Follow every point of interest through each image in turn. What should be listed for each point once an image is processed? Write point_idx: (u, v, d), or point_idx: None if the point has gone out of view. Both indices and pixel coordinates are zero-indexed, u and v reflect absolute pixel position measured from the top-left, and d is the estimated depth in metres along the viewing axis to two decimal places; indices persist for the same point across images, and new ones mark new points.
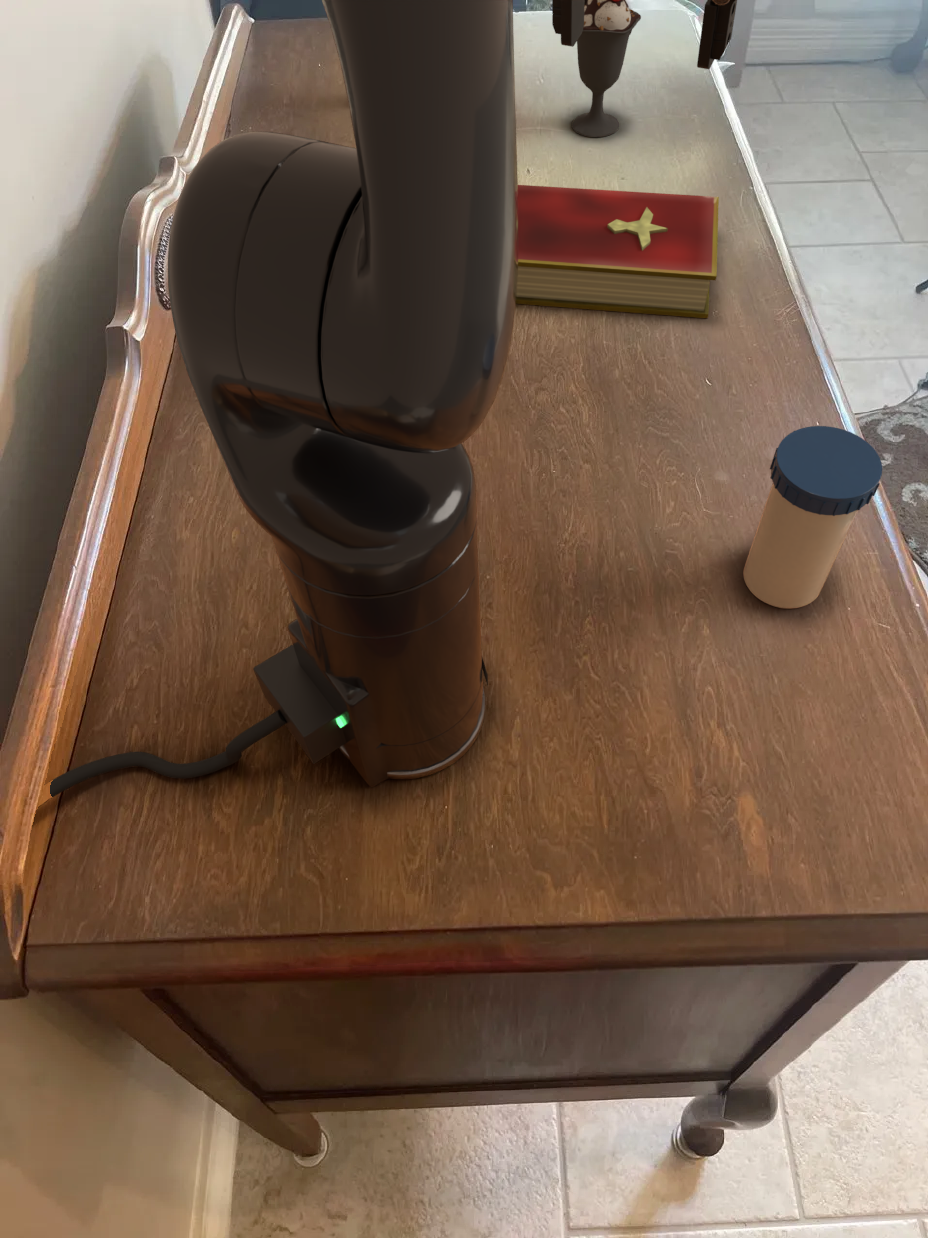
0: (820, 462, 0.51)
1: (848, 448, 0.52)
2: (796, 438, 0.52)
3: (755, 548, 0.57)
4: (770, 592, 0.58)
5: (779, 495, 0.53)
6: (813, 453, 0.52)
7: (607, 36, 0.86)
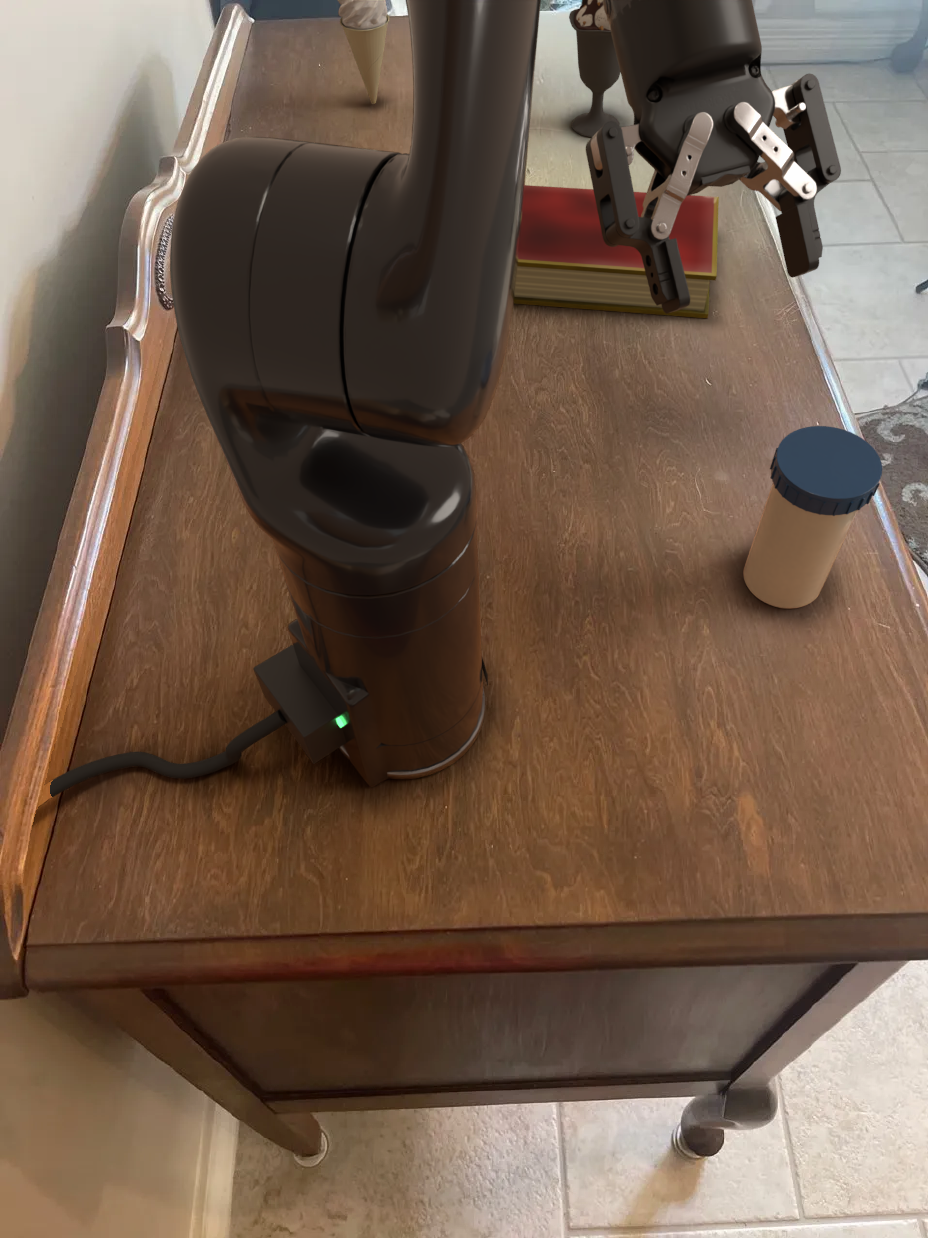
0: (820, 462, 0.51)
1: (848, 448, 0.52)
2: (796, 438, 0.52)
3: (755, 548, 0.57)
4: (770, 592, 0.58)
5: (779, 495, 0.53)
6: (813, 453, 0.52)
7: (607, 36, 0.86)
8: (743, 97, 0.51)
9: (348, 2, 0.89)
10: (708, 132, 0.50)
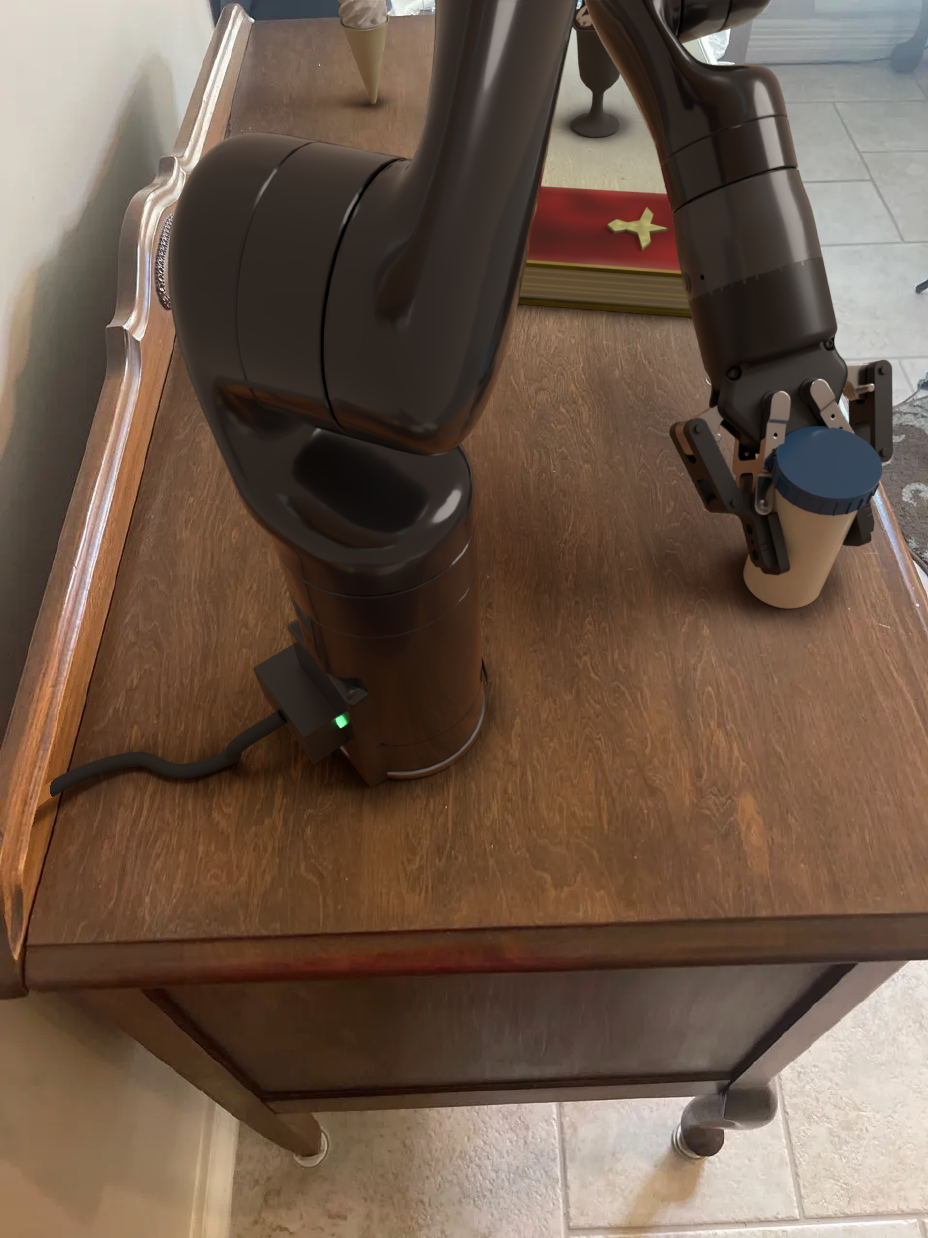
0: (820, 462, 0.51)
1: (848, 448, 0.52)
2: (796, 438, 0.52)
3: None
4: (770, 592, 0.58)
5: (779, 495, 0.53)
6: (813, 453, 0.52)
7: None
8: (818, 370, 0.53)
9: (348, 2, 0.89)
10: (787, 407, 0.52)
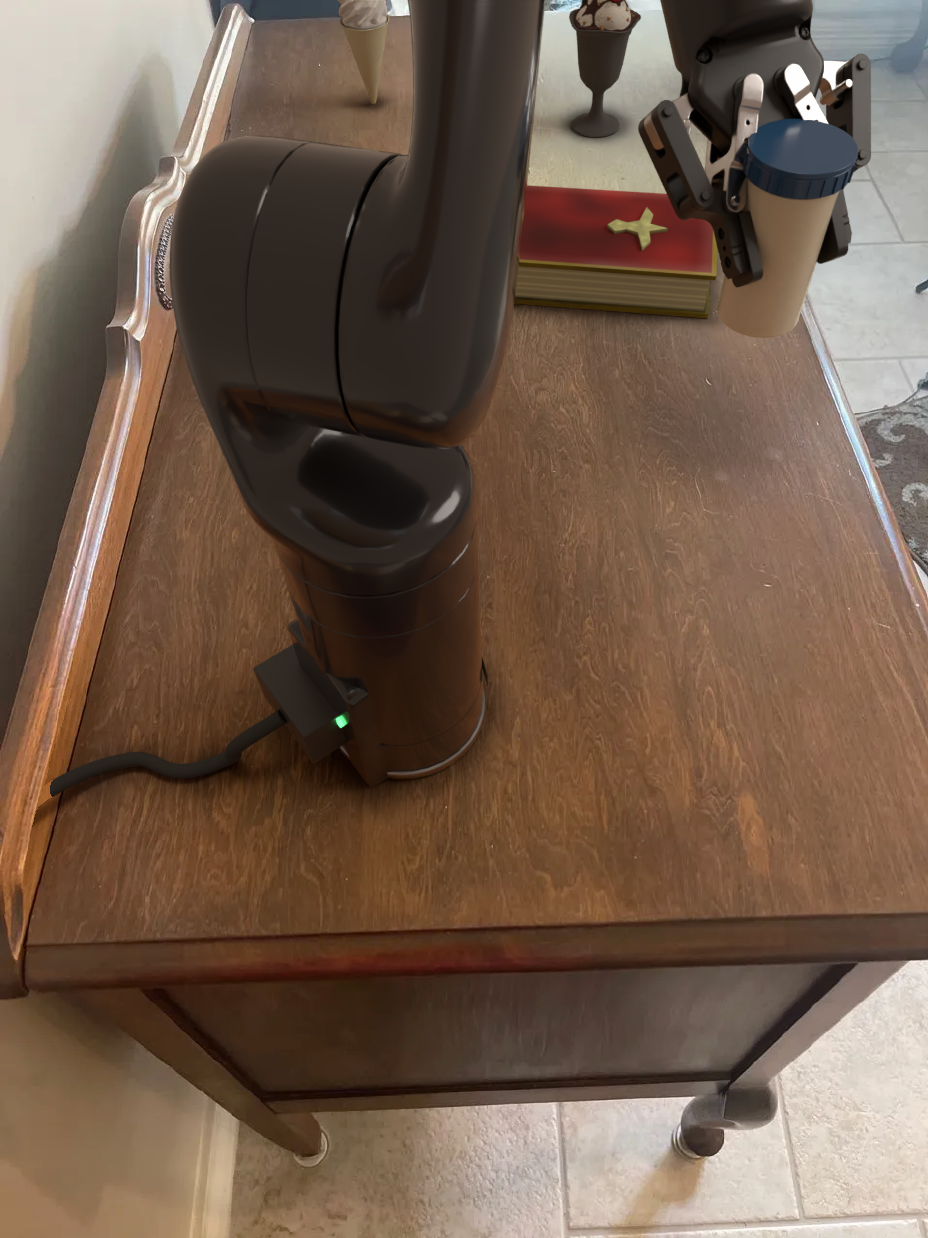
0: (794, 146, 0.49)
1: (823, 135, 0.50)
2: (769, 128, 0.50)
3: None
4: (744, 318, 0.56)
5: (751, 189, 0.50)
6: (787, 140, 0.50)
7: (607, 36, 0.86)
8: (793, 59, 0.51)
9: (348, 2, 0.89)
10: (760, 92, 0.50)
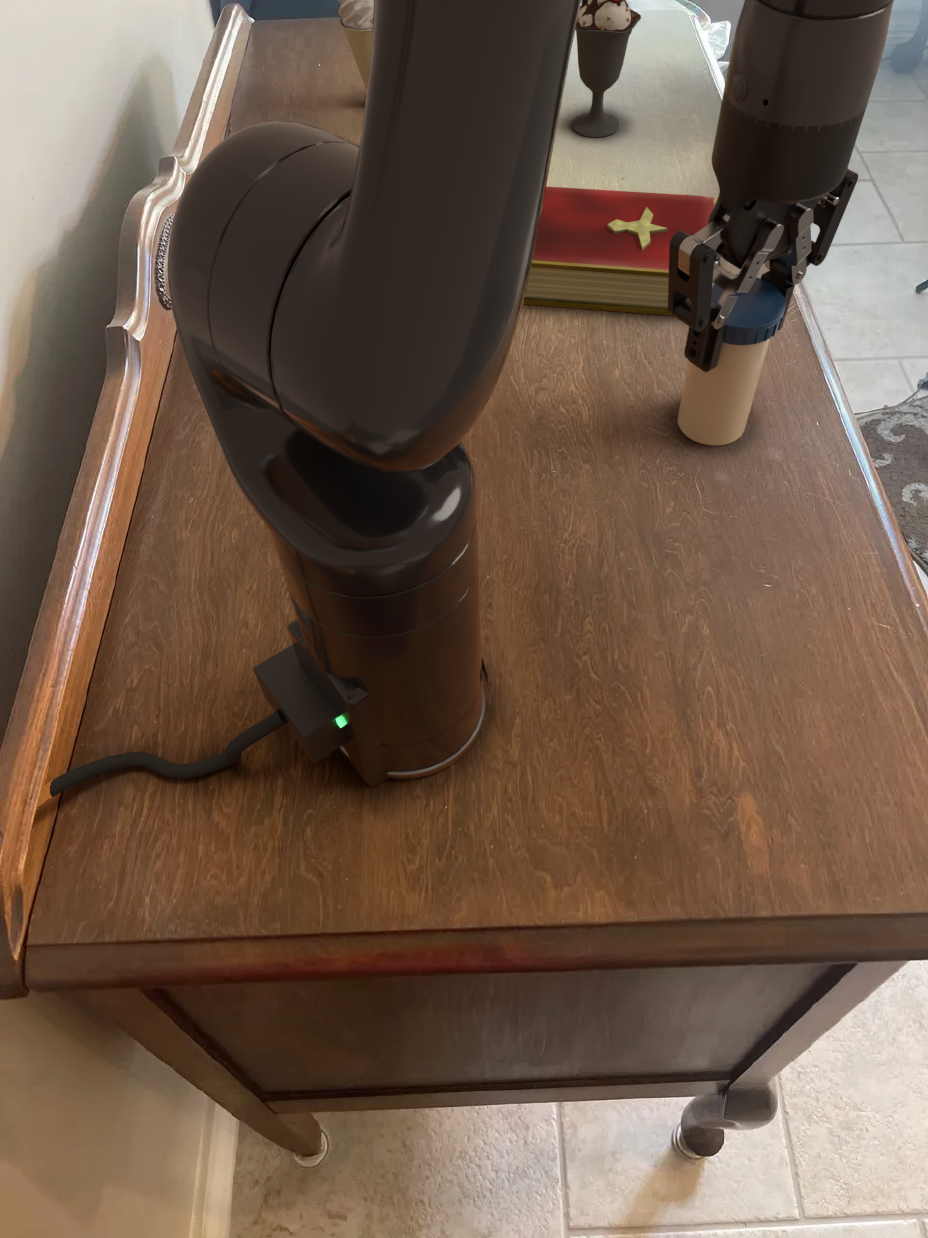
0: None
1: (758, 290, 0.61)
2: None
3: (685, 390, 0.66)
4: (698, 430, 0.67)
5: None
6: None
7: (607, 36, 0.86)
8: None
9: (348, 2, 0.89)
10: (777, 239, 0.54)
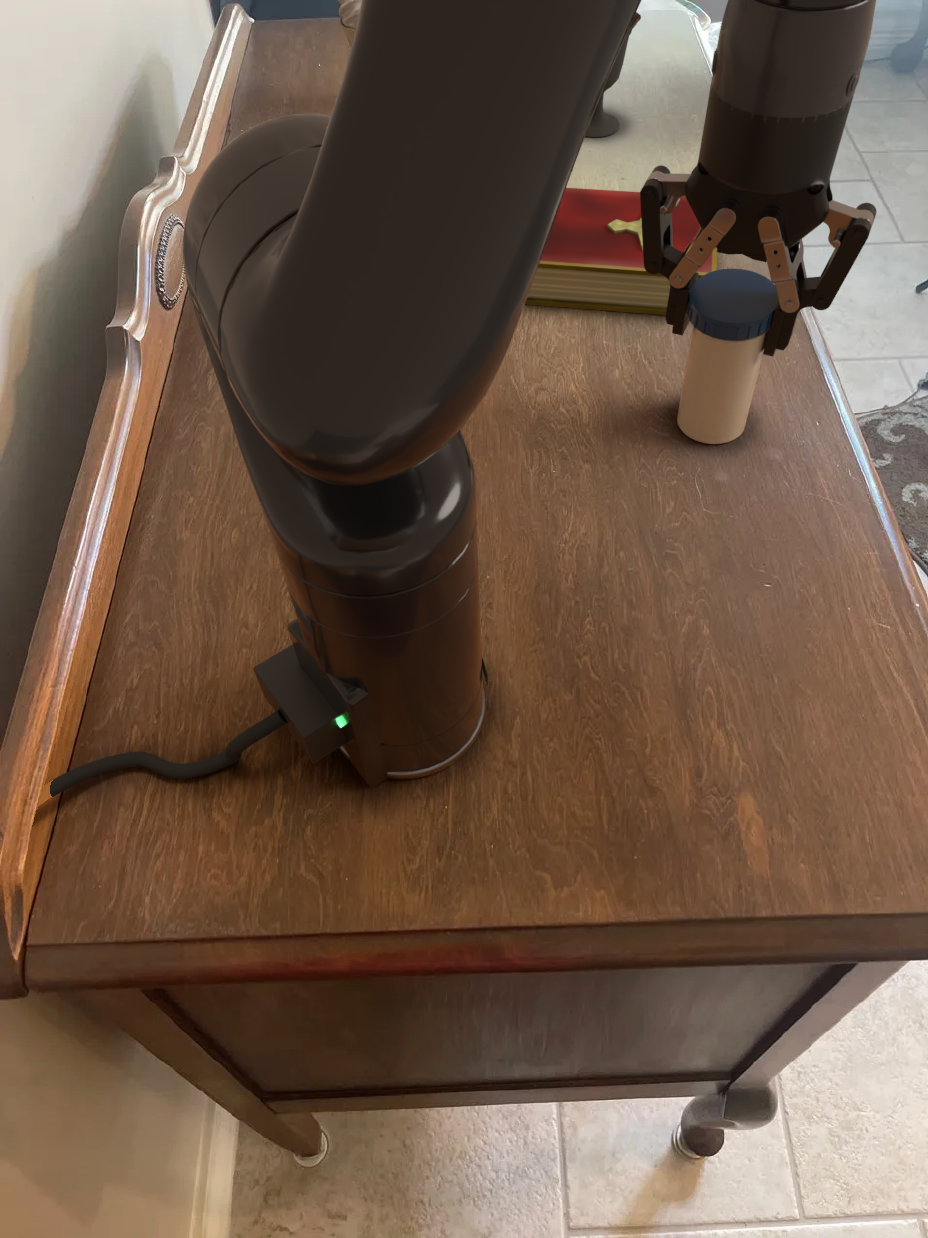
0: (740, 298, 0.60)
1: (710, 289, 0.60)
2: (724, 316, 0.59)
3: (684, 389, 0.66)
4: (698, 428, 0.67)
5: (697, 331, 0.61)
6: (734, 303, 0.59)
7: None
8: None
9: (348, 2, 0.89)
10: None
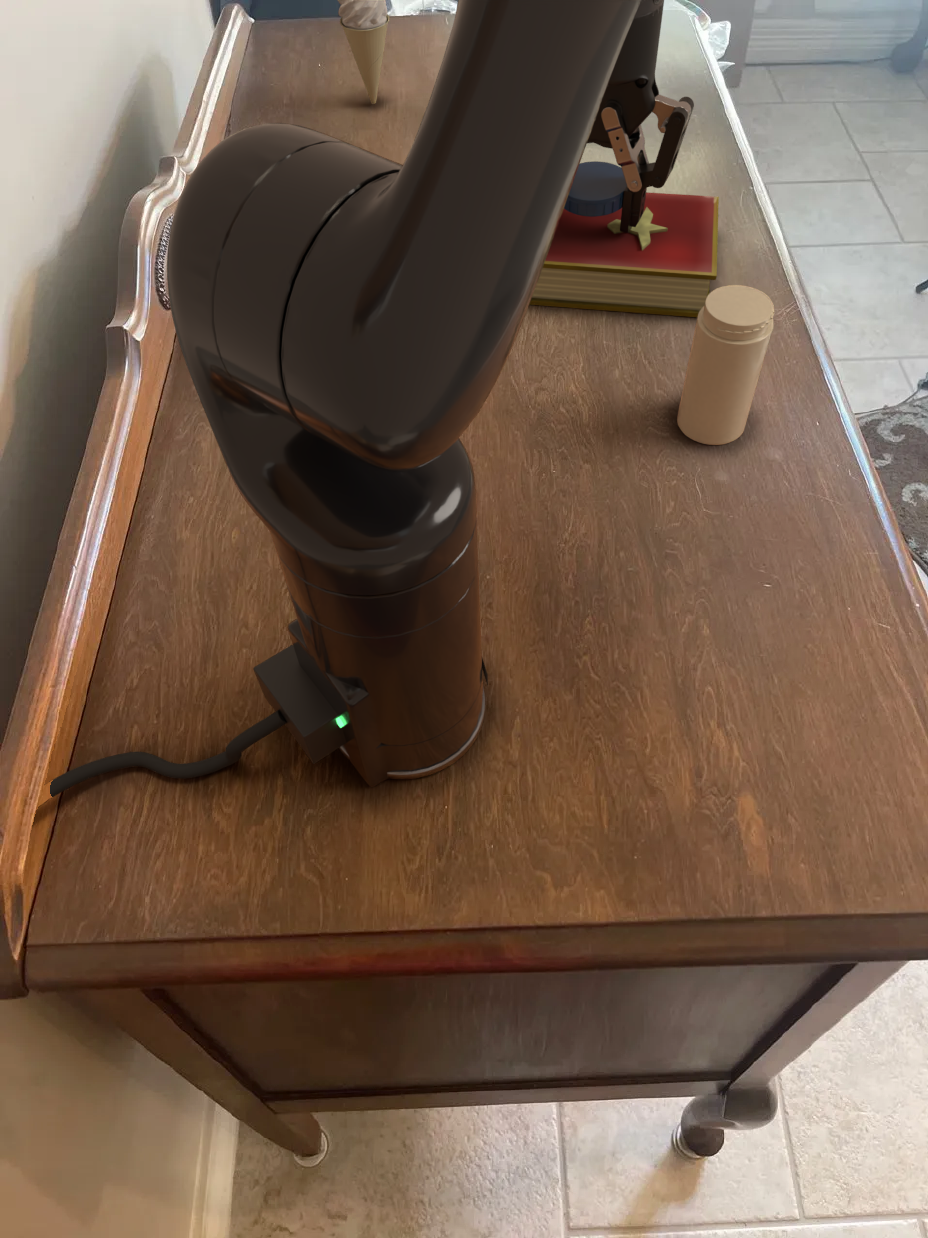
0: (598, 182, 0.74)
1: (575, 177, 0.75)
2: (584, 196, 0.73)
3: (685, 390, 0.66)
4: (698, 429, 0.67)
5: (700, 332, 0.61)
6: (593, 186, 0.74)
7: None
8: None
9: (348, 2, 0.89)
10: None
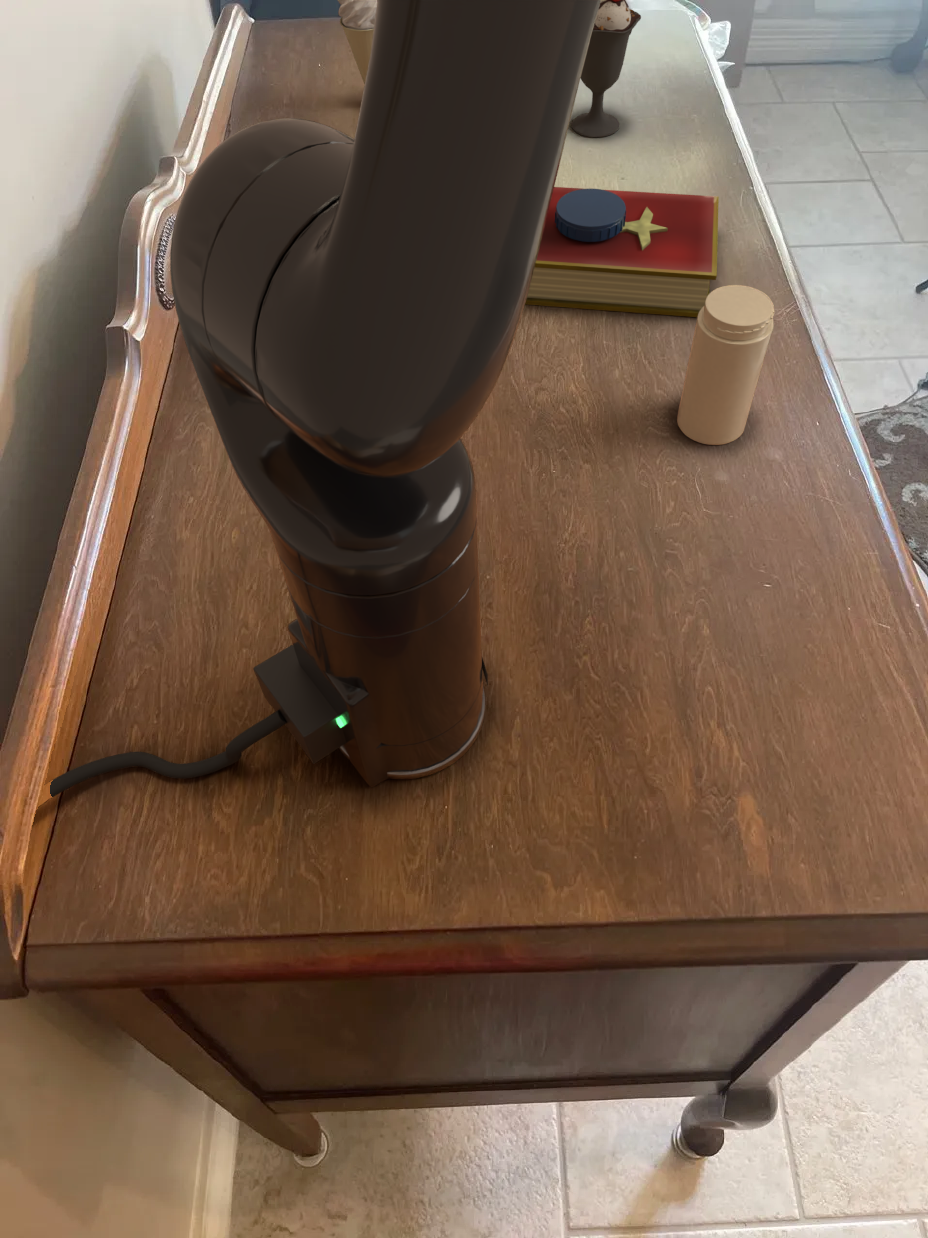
0: (595, 209, 0.76)
1: (572, 202, 0.76)
2: (581, 221, 0.75)
3: (685, 390, 0.66)
4: (698, 429, 0.67)
5: (700, 332, 0.61)
6: (590, 213, 0.75)
7: (607, 36, 0.86)
8: None
9: (348, 2, 0.89)
10: None
